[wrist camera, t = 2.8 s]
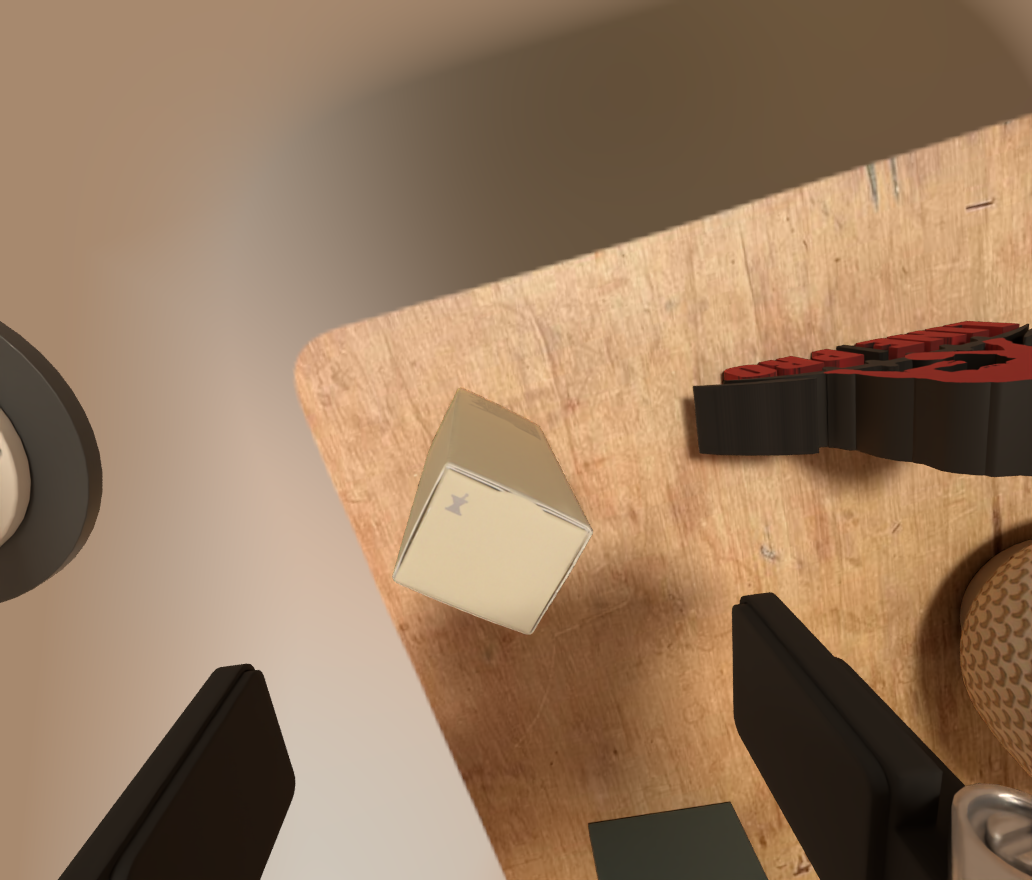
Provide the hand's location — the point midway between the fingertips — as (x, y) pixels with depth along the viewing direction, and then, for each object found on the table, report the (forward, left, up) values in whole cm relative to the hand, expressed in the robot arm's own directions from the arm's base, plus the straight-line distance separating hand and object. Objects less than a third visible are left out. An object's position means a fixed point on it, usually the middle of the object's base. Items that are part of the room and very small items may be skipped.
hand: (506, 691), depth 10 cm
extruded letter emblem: (+19, +1, -19) cm, 27 cm away
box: (0, 0, -19) cm, 19 cm away
